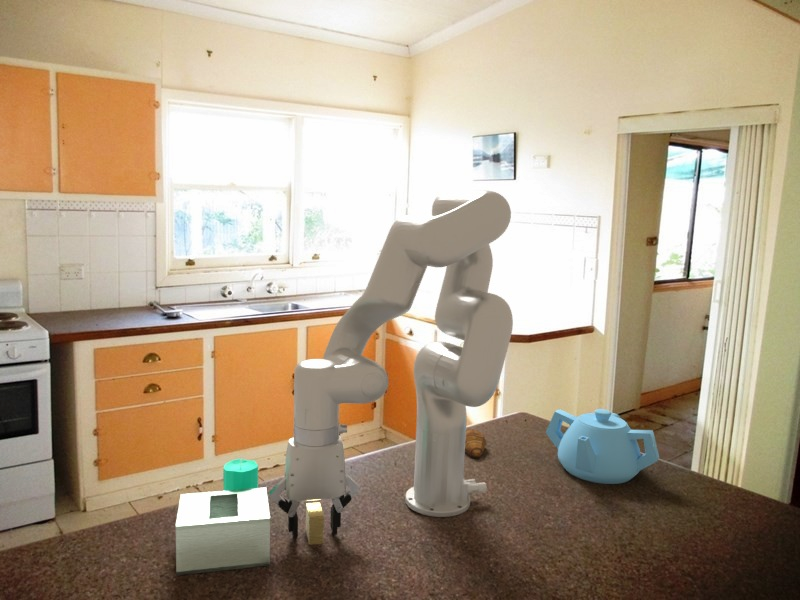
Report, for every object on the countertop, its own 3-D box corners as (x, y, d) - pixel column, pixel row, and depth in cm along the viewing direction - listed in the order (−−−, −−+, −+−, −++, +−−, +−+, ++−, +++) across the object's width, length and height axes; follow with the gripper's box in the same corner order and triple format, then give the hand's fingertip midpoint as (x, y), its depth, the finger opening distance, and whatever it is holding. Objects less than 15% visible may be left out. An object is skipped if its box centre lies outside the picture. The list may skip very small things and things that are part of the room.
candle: (249, 530, 112) (249, 465, 110) (217, 526, 113) (217, 461, 111) (263, 514, 117) (263, 452, 116) (233, 510, 119) (232, 448, 117)
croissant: (492, 460, 147) (493, 440, 146) (462, 460, 146) (463, 440, 145) (479, 439, 160) (481, 420, 159) (453, 439, 159) (454, 419, 159)
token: (319, 528, 113) (319, 502, 113) (323, 543, 109) (323, 515, 108) (305, 530, 113) (306, 503, 112) (309, 544, 108) (309, 517, 107)
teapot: (544, 453, 151) (549, 397, 149) (621, 453, 154) (627, 397, 152) (575, 490, 133) (581, 426, 130) (662, 489, 135) (669, 426, 133)
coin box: (265, 530, 112) (266, 487, 111) (269, 565, 101) (270, 518, 100) (181, 538, 108) (180, 494, 107) (176, 575, 98) (175, 526, 97)
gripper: (362, 422, 114) (359, 517, 116) (262, 428, 109) (262, 526, 112) (371, 438, 106) (367, 538, 109) (264, 444, 102) (264, 549, 105)
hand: (314, 531), depth 111 cm, fingers open, 6 cm apart
